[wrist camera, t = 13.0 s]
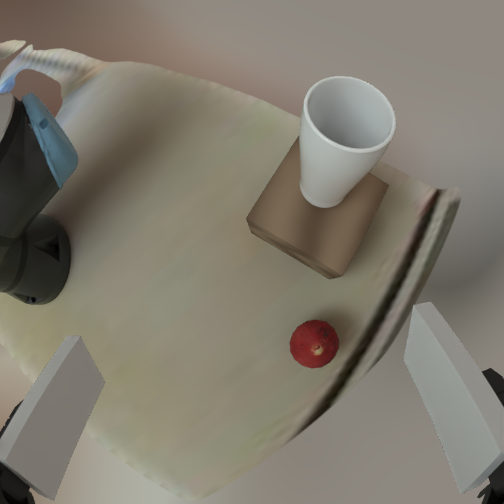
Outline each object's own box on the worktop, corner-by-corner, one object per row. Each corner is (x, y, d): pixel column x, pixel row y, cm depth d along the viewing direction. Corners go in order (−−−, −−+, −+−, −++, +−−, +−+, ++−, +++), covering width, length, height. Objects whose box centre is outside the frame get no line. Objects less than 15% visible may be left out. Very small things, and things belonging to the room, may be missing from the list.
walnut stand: (251, 232, 41) (245, 218, 33) (295, 161, 42) (299, 134, 34) (329, 279, 40) (342, 275, 32) (369, 204, 41) (388, 185, 33)
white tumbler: (283, 170, 34) (286, 85, 19) (337, 152, 34) (368, 67, 19) (306, 224, 33) (329, 165, 18) (362, 204, 33) (415, 139, 18)
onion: (308, 308, 39) (316, 312, 32) (341, 335, 39) (356, 344, 31) (279, 343, 39) (280, 355, 31) (313, 369, 38) (321, 386, 30)
